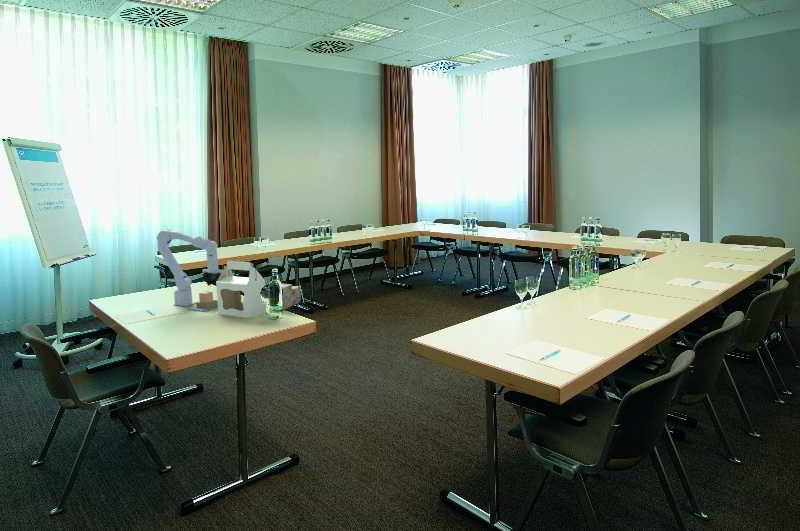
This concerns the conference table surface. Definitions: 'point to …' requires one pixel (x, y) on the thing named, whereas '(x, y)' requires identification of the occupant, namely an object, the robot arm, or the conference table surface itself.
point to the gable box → (231, 291)
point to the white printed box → (290, 295)
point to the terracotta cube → (206, 296)
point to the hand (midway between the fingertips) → (214, 285)
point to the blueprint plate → (205, 306)
